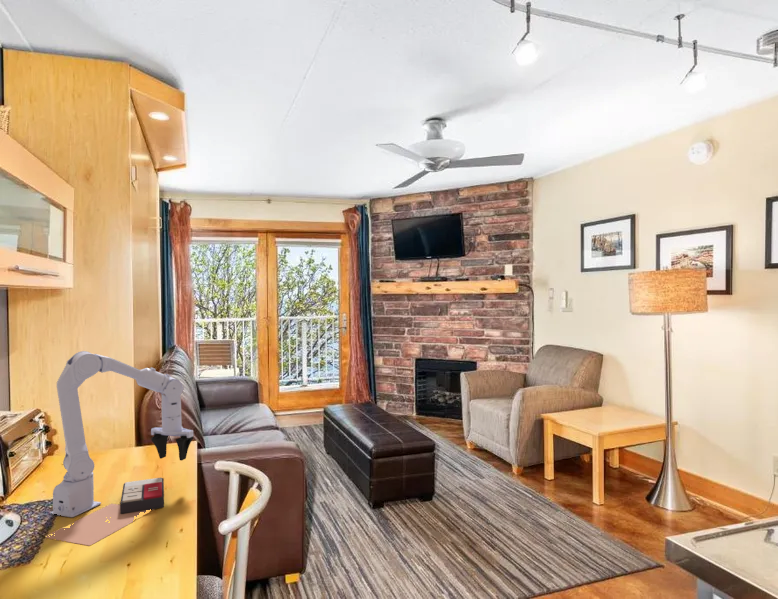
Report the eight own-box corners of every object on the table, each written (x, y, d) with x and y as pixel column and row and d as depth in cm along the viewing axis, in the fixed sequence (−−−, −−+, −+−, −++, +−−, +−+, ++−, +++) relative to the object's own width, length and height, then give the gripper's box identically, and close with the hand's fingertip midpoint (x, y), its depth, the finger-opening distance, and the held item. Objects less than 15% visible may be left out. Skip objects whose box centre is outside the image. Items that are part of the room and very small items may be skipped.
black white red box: (120, 501, 137) (123, 480, 151) (120, 516, 137) (123, 494, 151) (164, 494, 142) (163, 475, 155) (164, 509, 142) (163, 488, 156)
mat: (89, 547, 120) (89, 545, 120) (42, 539, 125) (42, 537, 125) (154, 511, 140) (154, 509, 140) (111, 505, 145) (111, 503, 145)
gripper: (199, 413, 160) (200, 456, 160) (161, 411, 164) (162, 452, 164) (184, 419, 153) (185, 463, 153) (145, 416, 157) (146, 459, 158)
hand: (172, 458), depth 159 cm, fingers open, 7 cm apart
